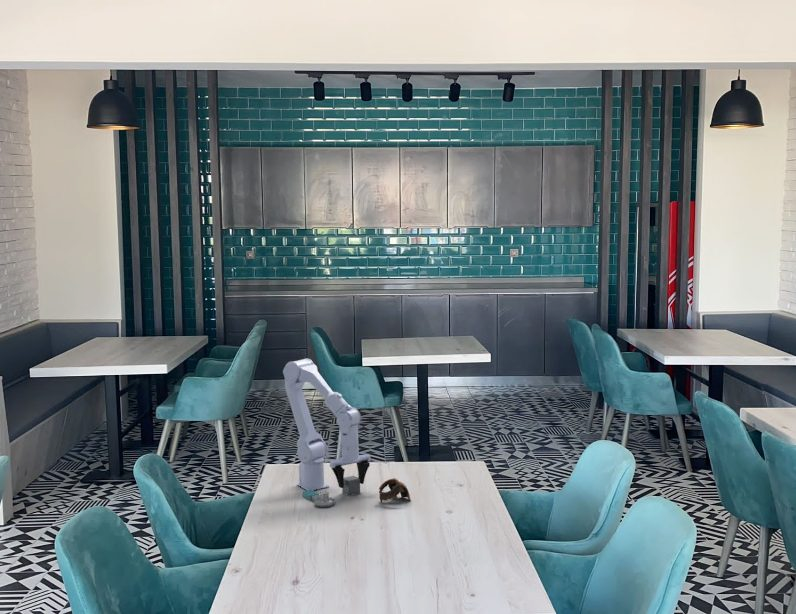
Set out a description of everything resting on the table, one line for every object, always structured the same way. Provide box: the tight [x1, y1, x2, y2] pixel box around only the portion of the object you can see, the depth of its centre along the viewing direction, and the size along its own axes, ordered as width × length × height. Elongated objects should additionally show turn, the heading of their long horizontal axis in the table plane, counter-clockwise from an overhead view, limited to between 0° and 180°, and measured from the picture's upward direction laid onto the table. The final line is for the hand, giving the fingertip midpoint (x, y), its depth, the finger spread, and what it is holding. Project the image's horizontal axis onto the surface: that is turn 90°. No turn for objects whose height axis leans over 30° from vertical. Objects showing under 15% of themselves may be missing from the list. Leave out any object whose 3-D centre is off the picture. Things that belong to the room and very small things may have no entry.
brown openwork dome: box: [378, 478, 411, 503], centre depth 271 cm, size 12×10×8 cm
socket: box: [341, 475, 361, 496], centre depth 280 cm, size 4×4×5 cm
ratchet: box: [302, 489, 336, 509], centre depth 273 cm, size 16×6×4 cm, turn 32°
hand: (351, 485), depth 280 cm, fingers open, 7 cm apart
